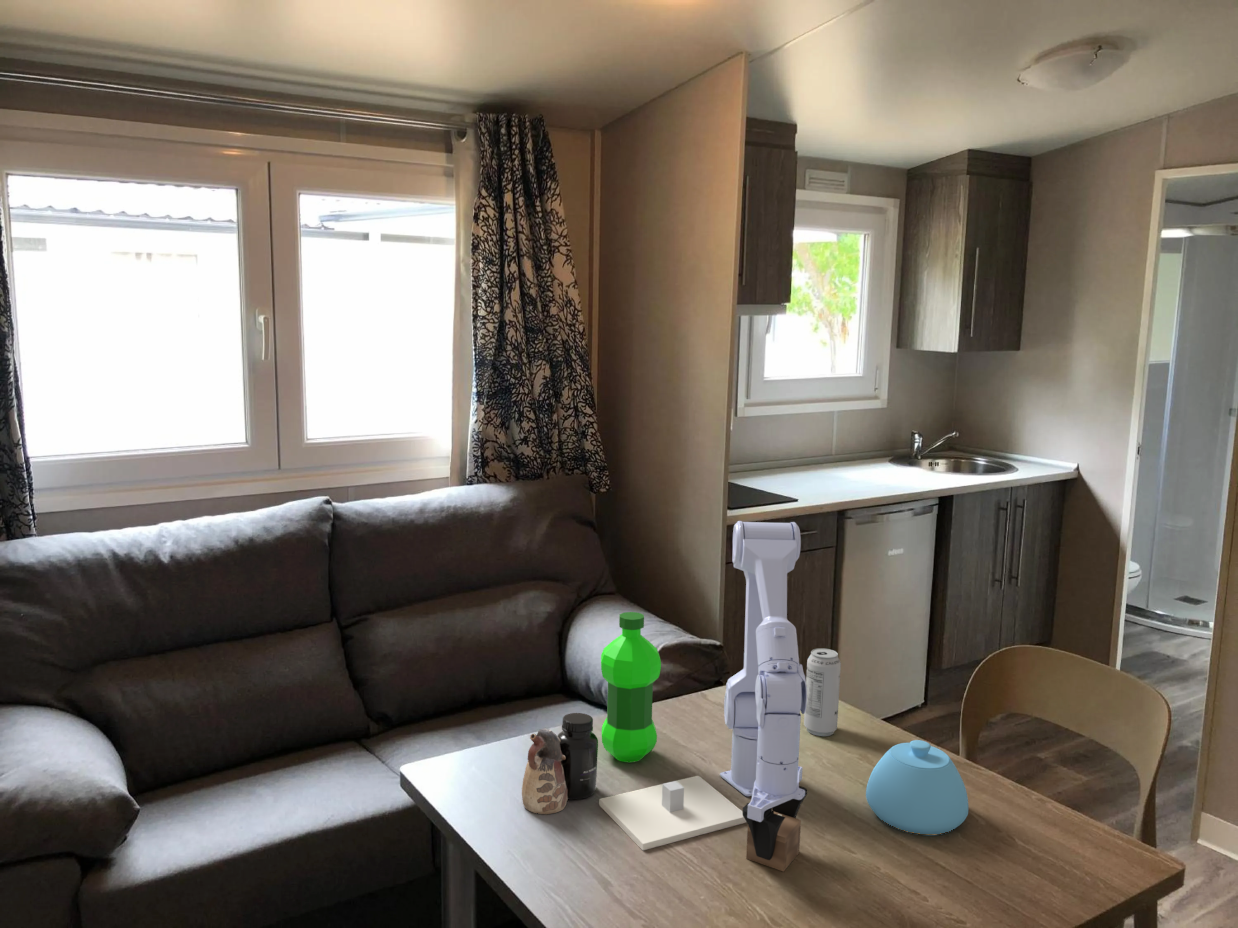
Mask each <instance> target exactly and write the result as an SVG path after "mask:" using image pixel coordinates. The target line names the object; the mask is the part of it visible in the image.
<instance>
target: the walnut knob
mask: <svg viewBox="0 0 1238 928" xmlns="http://www.w3.org/2000/svg"><path fill="white" fill-rule="evenodd" d="M774 814H777V815H780V816H783V817H785V819H784V820H783V822H782V824H781V826H780V828H779V831H778V834H777V837H776V843H775V849H774V853H773V856H772V858H771V859H770V860H767V859H764V858H761V857H758V856H756V852H755V847H754V842H753V838H752V834H751V831H750V828H749V826H748V825H747V830H746V831H747V834H746V835H747V836H746V853H745V854H746V856H745V857H746V859H747V860H749V861H752V862H755V863H758V864H761V865H764V866H766V867H769V868H771V869H775V870H778V871H781V872H785V871H786V870H787V868H788V867H790V865H791V863H792V862H793V861H794V860H795V859H796V858H797V856H798V855H799V854H800V849H801V848H800V844H801V827H802V825H801V824H802V820H801V819H799V818H797V817H796V818H793V817H790V816H787V815H784V814H780V813H777V812H774Z"/></svg>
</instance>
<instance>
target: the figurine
mask: <svg viewBox="0 0 1238 928" xmlns="http://www.w3.org/2000/svg"><path fill="white" fill-rule="evenodd" d="M557 735H558V734H555V732H553V731H552V730H551V729H548V728H546V727H545V728H542V729H539V730H538V731H537V734H535V733H532V734H530V736H529V739H530V740H531V741H532V744H531V745H530V747H529V749H528V753H527V762H526V766H525V770H524V774H523V778H522V785H521V796H522V797H521V798H522V805H523V807H524V809H526V810H527V811H529V812H531V813H533V814H537V813H538V815H551V814H555V813H559V812H561V811H563V810H564V809H565V808H566V806H567V801H568V796H567V793H568V790H567V787H566V783H565V776H564V770H563V767H562V764H561V761H562V760H565V759H566V757H565V756H564V755H563V754H562V752H561V749H560V741H561V740H560V739H559V738H558V736H557Z"/></svg>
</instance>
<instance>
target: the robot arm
mask: <svg viewBox="0 0 1238 928" xmlns="http://www.w3.org/2000/svg"><path fill="white" fill-rule="evenodd" d="M732 530H733V532H732V556H731V557H732V563H733V568H734V569H738V570H740V571H743V574H744V577H745V584H746V585H745V610H744V611H745V615H744V616H745V617H744V646H743V647H744V648H743V650H744V651H743V668H742V669H741V670H740V671H738V672H737V673H736V674H734V675H733V676H730V677H729V678H728V679H727V682H726V684H725V692H724V693H725V694H724V698H723V699H724V701H723V709H724V710H723V712H724V713H723V714H724V723H725V726H726V727H727V729H729V730H732V737H731V756H730V757H731V760H730V770H726V771H721V772H720V773H719V777H721V778H722V779H723V780H724V781H726V782H727V783H728V784H729V785H731V786H732V787H733V788H735V789H736V790H737V791H739V793H741V794H742V795H743V796H745V797H751V799H750V802H747V803H746V804H745V805H744V806H743V807H742V811H743V817H744V818H745V820H746V824H747V827H748V826H749V828H750V831H751V834H752V838H753V842H754V847H755V852H756V856H758V857H761V858H764V859H767V860H770V859H771V858H772V856H773V853H774V849H775V843H776V837H777V834H778V831H779V828H780V826H781V824H782V822H783V820H784V819H785V817H783V816H780V815H777V814H774V812H777V813H780V814H784V815H787V816H790V817H793V818H796V819H797V815H798V812H799V809H800V807H801V805H802V803H803V802H804V800H805V798H806V796H807V795H808V789H807V788H806V787H804V786H802V785H801V786H800V782H801V781H802V780H803V766H799V759H800V758H799V757H800V740H801V739H800V736H801V719H802V715H804V714H805V711H806V705H807V685H806V674H805V673H804V669H803V667H804V666H803V664H801V663H800V658H799V646H798V635H797V628H796V626H795V625H794V624H793V623H792V622H791V621H789V620H788V615H787V614H788V573H790V572H791V571H793V570H794V569H795V565H796V562H797V561H798V559H800V555H801V544H802V540H801V531H800V527H799V525H798V524H797V522H795V521H790V522H766V521H765V522H763V521H762V522H761V521H757V522H756V521H742V520H738V521H736V522H735V524H734V525H733V528H732Z"/></svg>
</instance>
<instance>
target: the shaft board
mask: <svg viewBox="0 0 1238 928" xmlns="http://www.w3.org/2000/svg"><path fill="white" fill-rule="evenodd" d="M598 799H599V801H598V805H599V807H600V808H601V809H602V810H604V812H605V813H606V814H607V815H608V816H609V817H610V818H611V819H612V820H613V822H615V823H616V824H617V825H618V826H619V828H621V830H623V832H624V833H625V834H626V835H627V836H628V837H629V838H630V839H631V840H632V842H634V843H635V844H636V845H637V846H638V847H639V848H640V849H641V851H646V850H650V849H653V848H658V847H660V846H661V847H662V846H665V845H667V844H668V845H669V844H672V843H675V842H676V843H677V842H680V841H683V840H687V839H690V838H694V837H697V836H701V835H706V834H708V833H712V832H717V831H719V830H723V829H727V828H732V827H734V826H738V825H742V824H745V823H746V824H747V822H746V820H745V818H744V817H743V810H742V809H740V808H739V807H737V806H736V805H735V804H734V803H733V802H732V801H730V799H728V798H726V797H725V795H723V794H722V793H721V792H719V791H718V790H717V789H715V787H713V786H712V785H711V784H709V782H707V781H706V780H705V779H704V778H702V777H701V776H700V775H695V776H691V777H686V778H681V779H678V780H673V781H668V782H664V783H661V784H657V785H652V786H648V787H644V788H640V789H635V790H632V791H627V792H623V793H619V794H615V795H611V796H606V797H602V798H598Z"/></svg>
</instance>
